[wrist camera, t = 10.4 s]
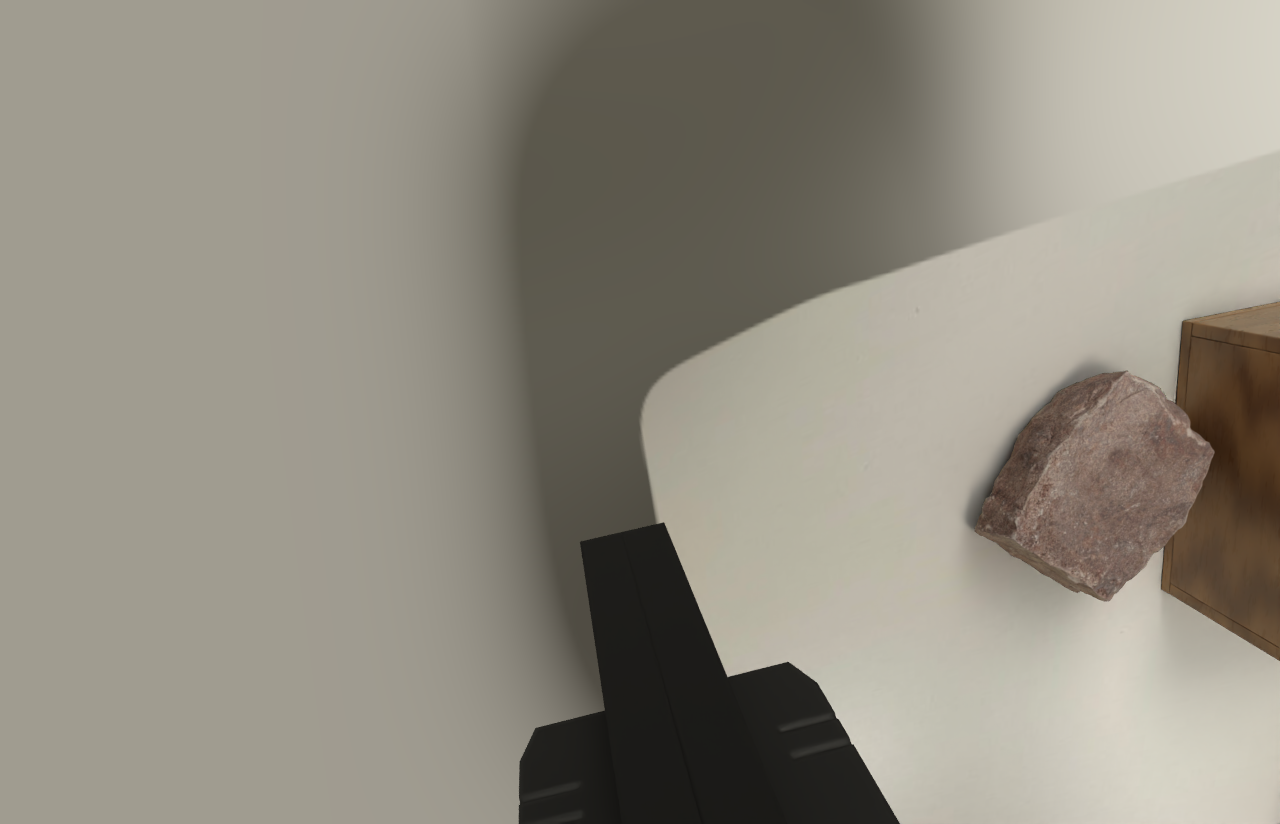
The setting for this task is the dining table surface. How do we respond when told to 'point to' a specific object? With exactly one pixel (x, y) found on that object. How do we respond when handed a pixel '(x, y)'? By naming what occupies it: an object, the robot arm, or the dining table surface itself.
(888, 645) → the dining table surface
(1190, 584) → the box
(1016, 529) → the stone
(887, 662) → the dining table surface
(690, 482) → the dining table surface
